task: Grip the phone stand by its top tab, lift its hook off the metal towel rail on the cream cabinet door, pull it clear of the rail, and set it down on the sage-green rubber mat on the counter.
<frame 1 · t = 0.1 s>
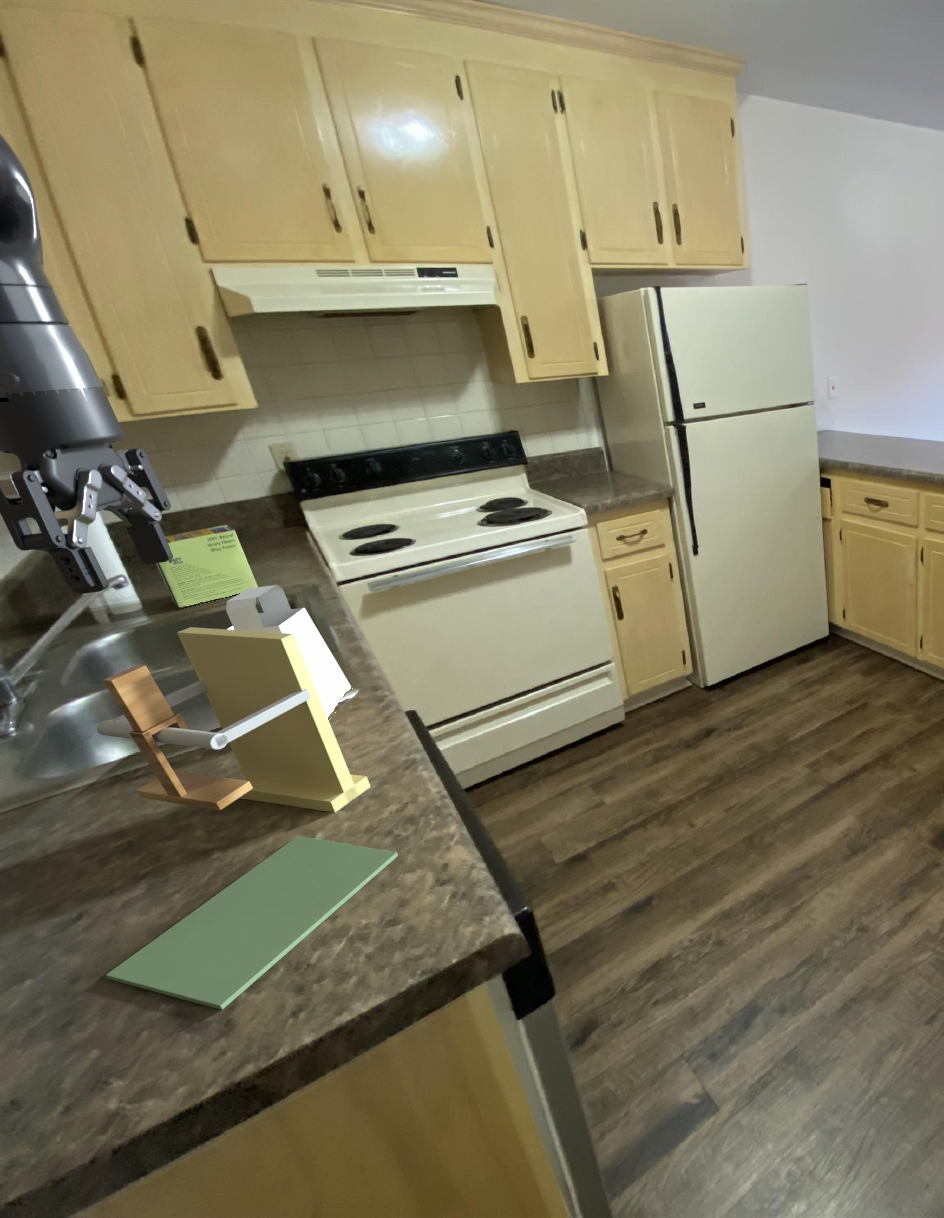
hand: (128, 575, 60), 33 cm above the countertop, tool pointing down, fingers open, 8 cm apart
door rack: (219, 848, 74), on the countertop
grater: (303, 714, 103), on the countertop
protein box: (217, 596, 162), on the countertop
mat: (266, 911, 65), on the countertop
phone stand: (161, 734, 68), point 15 cm above the countertop, touching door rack
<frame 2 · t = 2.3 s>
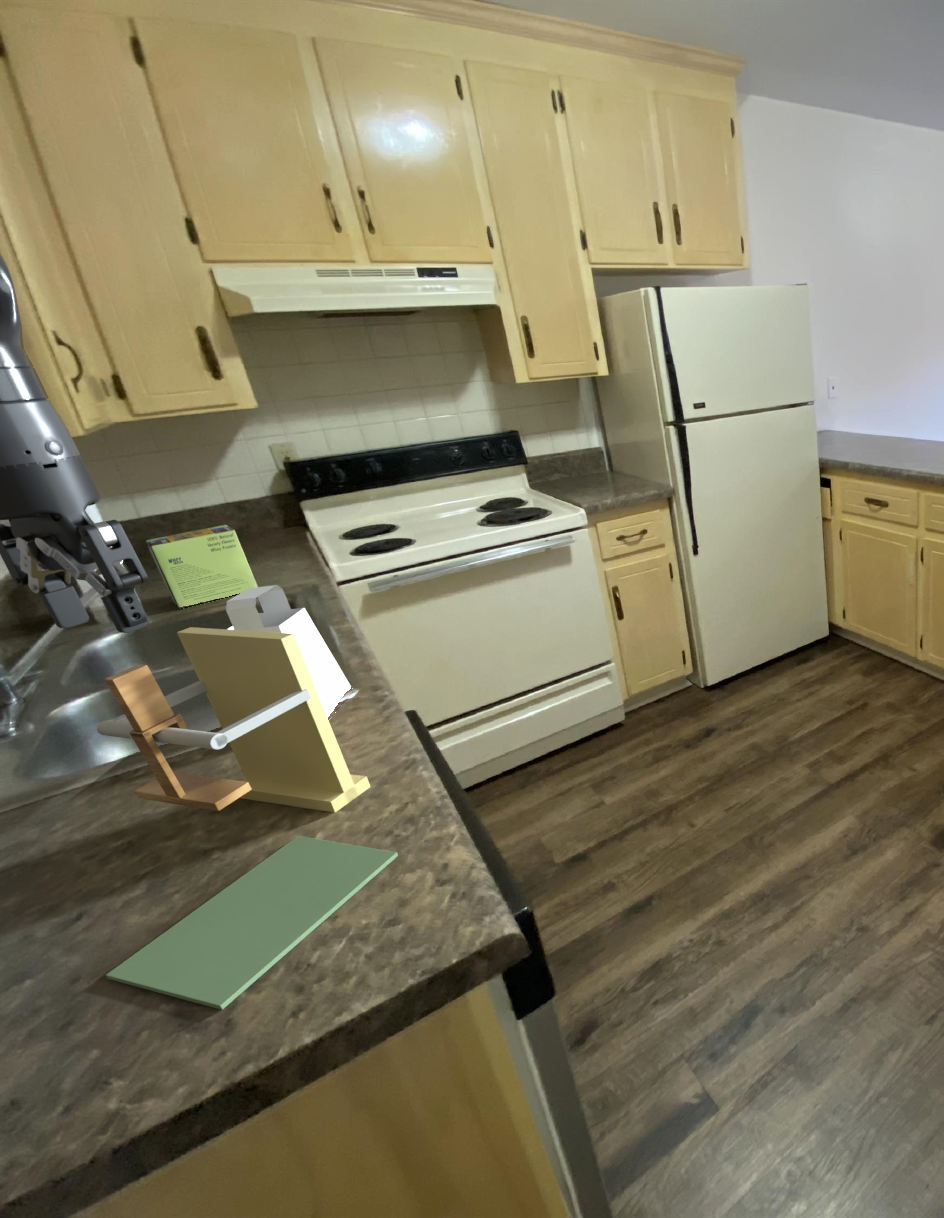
hand: (105, 627, 64), 27 cm above the countertop, tool pointing down, fingers open, 8 cm apart
nothing on the countertop moved.
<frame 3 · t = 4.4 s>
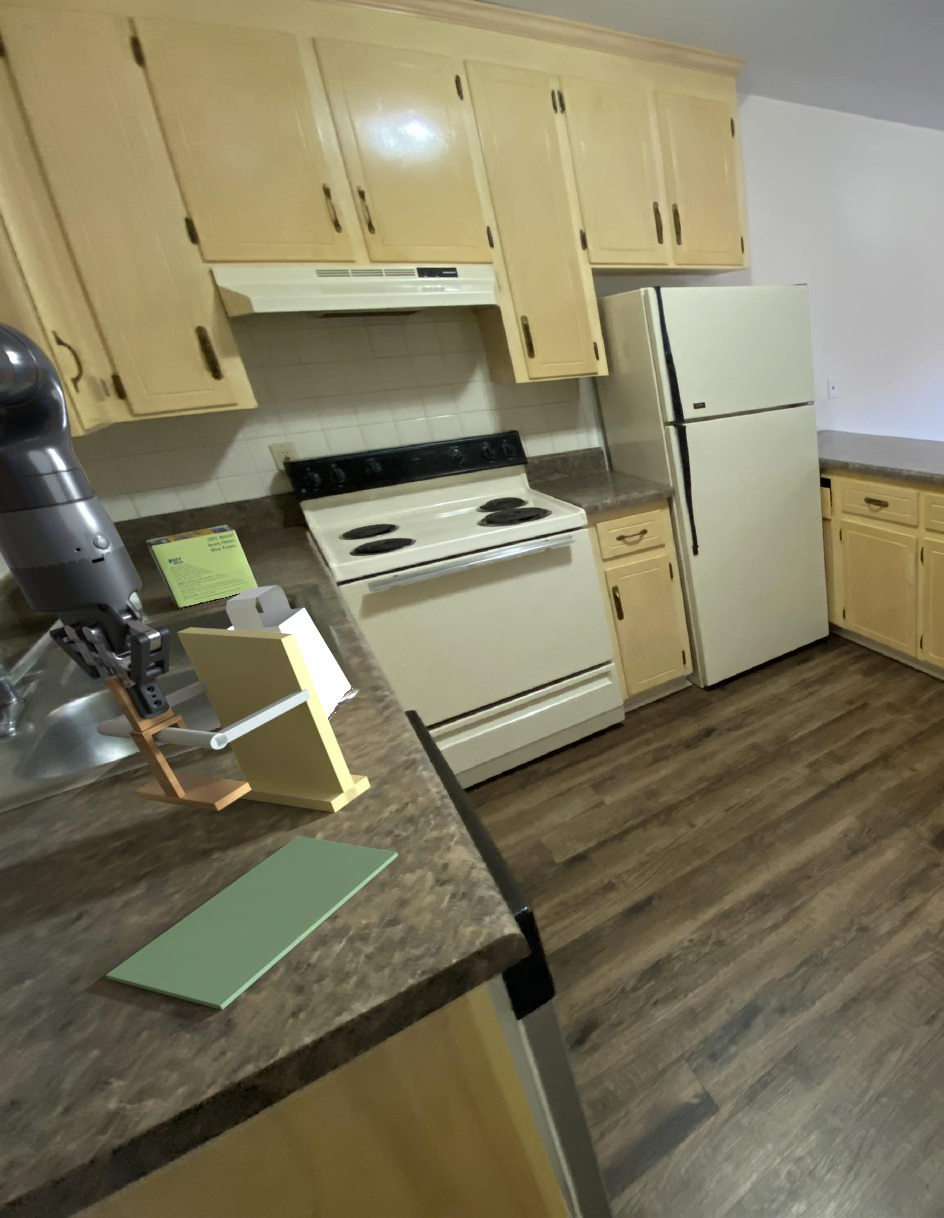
hand: (150, 713, 67), 17 cm above the countertop, tool pointing down, fingers closed on phone stand
phone stand: (161, 734, 68), point 15 cm above the countertop, touching gripper
everything else where it was.
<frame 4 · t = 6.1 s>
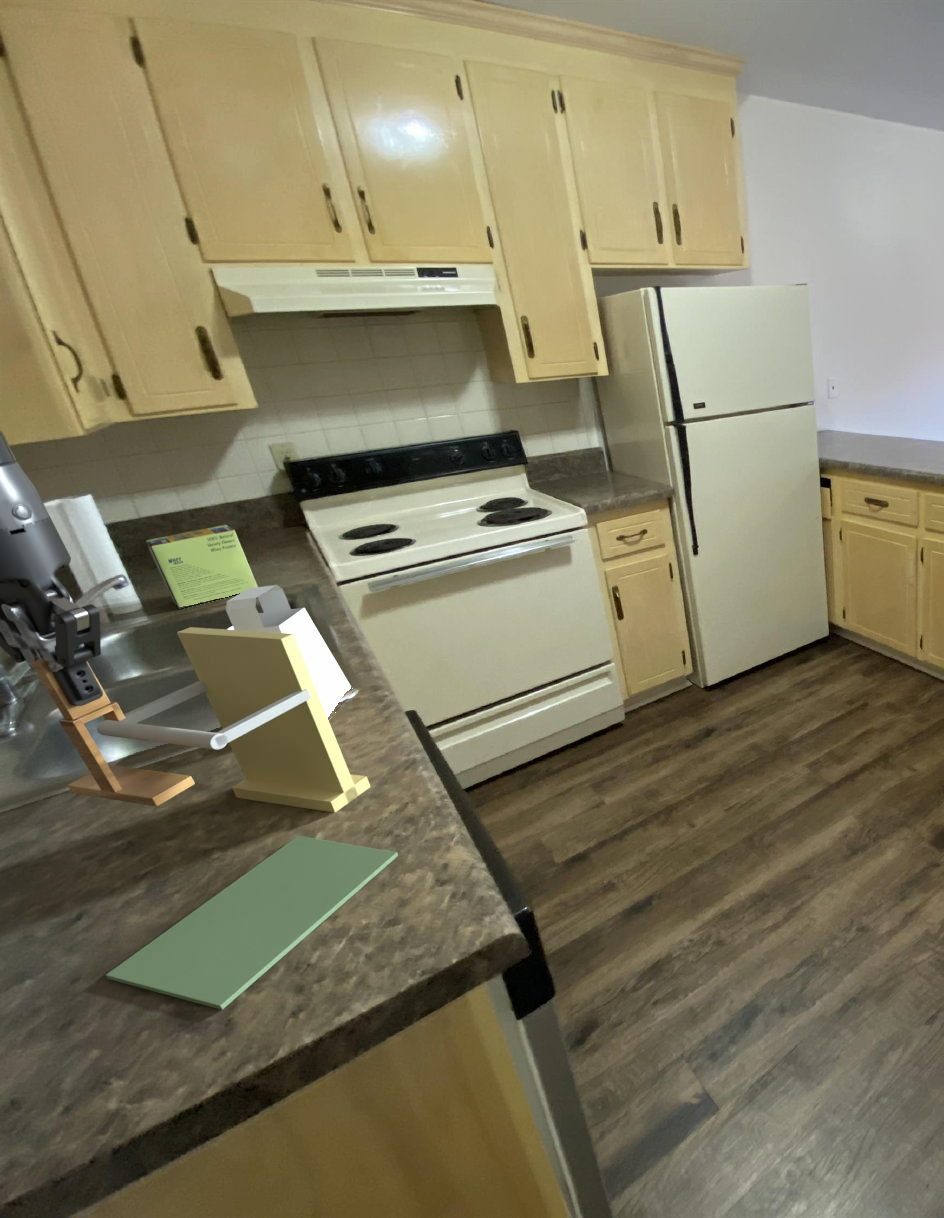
hand: (81, 700, 62), 21 cm above the countertop, tool pointing down, fingers closed on phone stand
phone stand: (95, 723, 64), point 19 cm above the countertop, touching gripper
everything else where it was.
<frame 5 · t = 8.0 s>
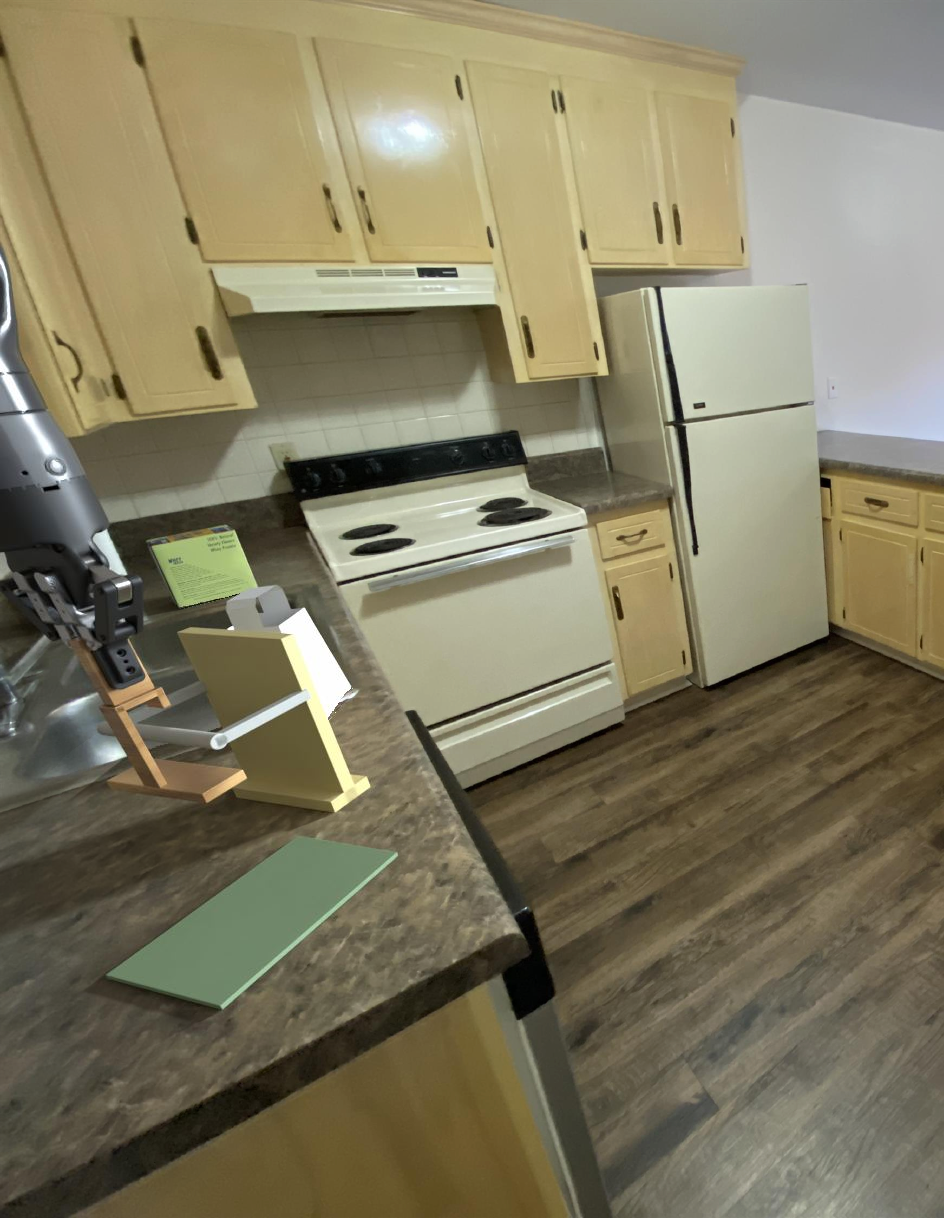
hand: (122, 683, 56), 25 cm above the countertop, tool pointing down, fingers closed on phone stand
phone stand: (138, 711, 57), point 23 cm above the countertop, touching gripper
everything else where it was.
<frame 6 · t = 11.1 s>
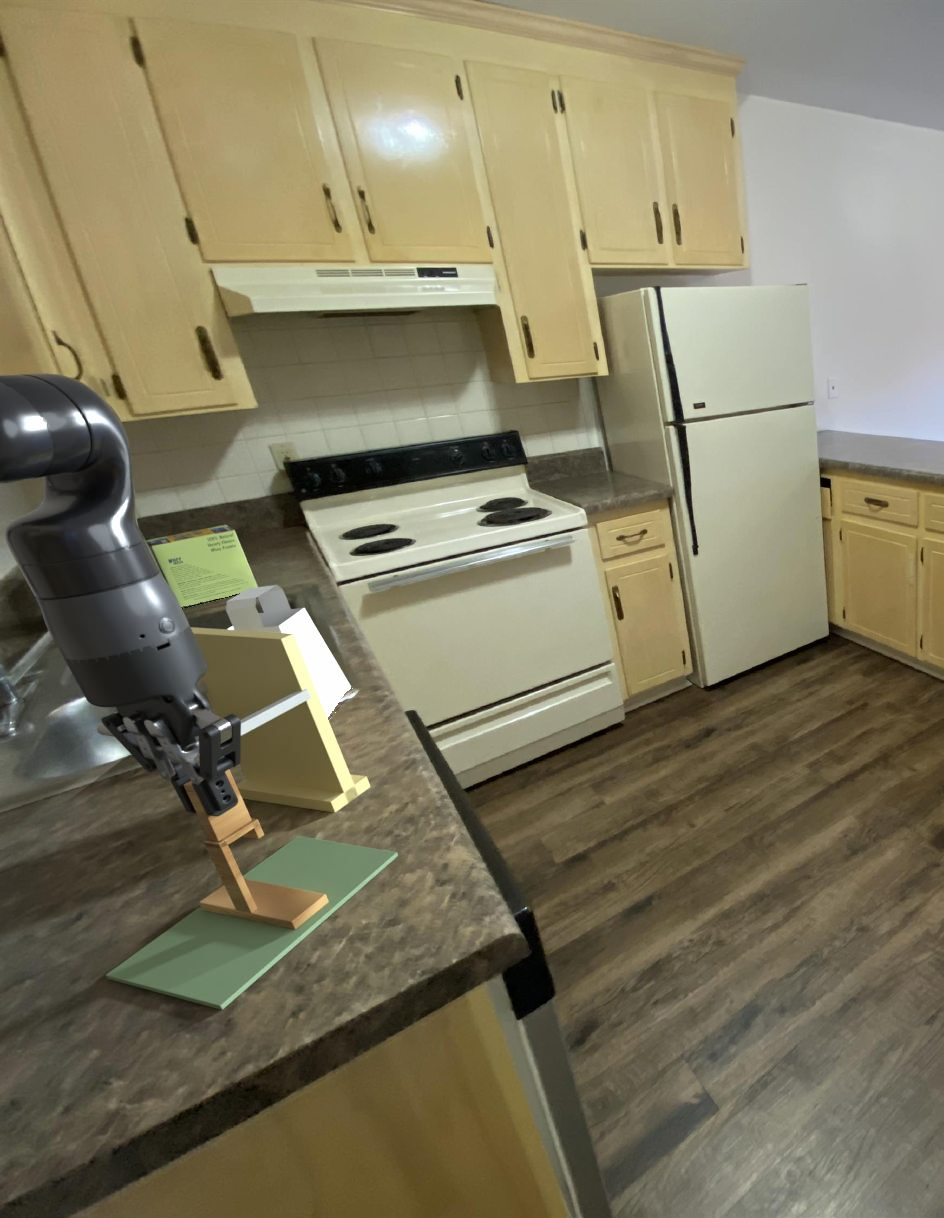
hand: (214, 808, 60), 13 cm above the countertop, tool pointing down, fingers closed
phone stand: (236, 842, 62), point 8 cm above the countertop, touching mat
everything else where it was.
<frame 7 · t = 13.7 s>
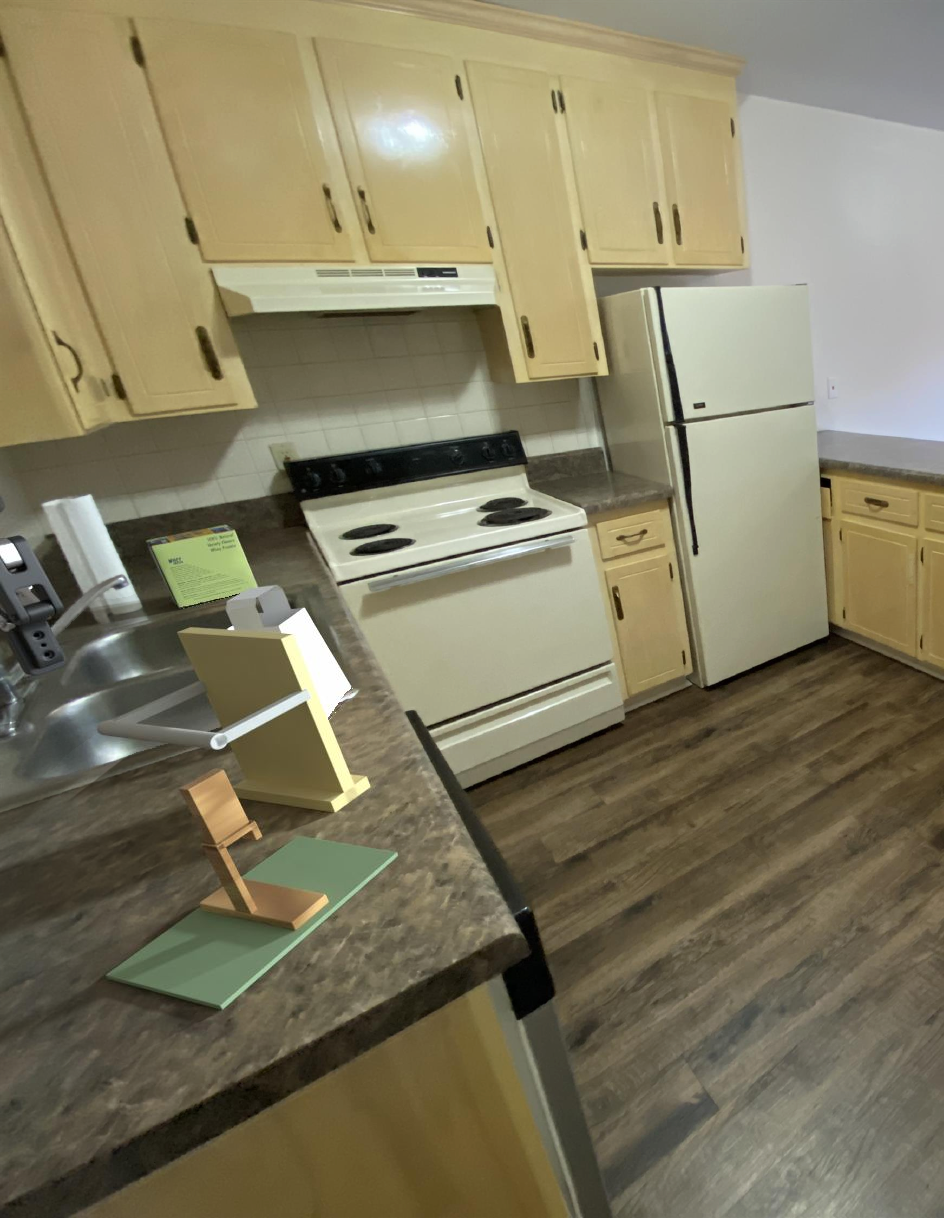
hand: (11, 666, 51), 29 cm above the countertop, tool pointing down, fingers open, 8 cm apart
nothing on the countertop moved.
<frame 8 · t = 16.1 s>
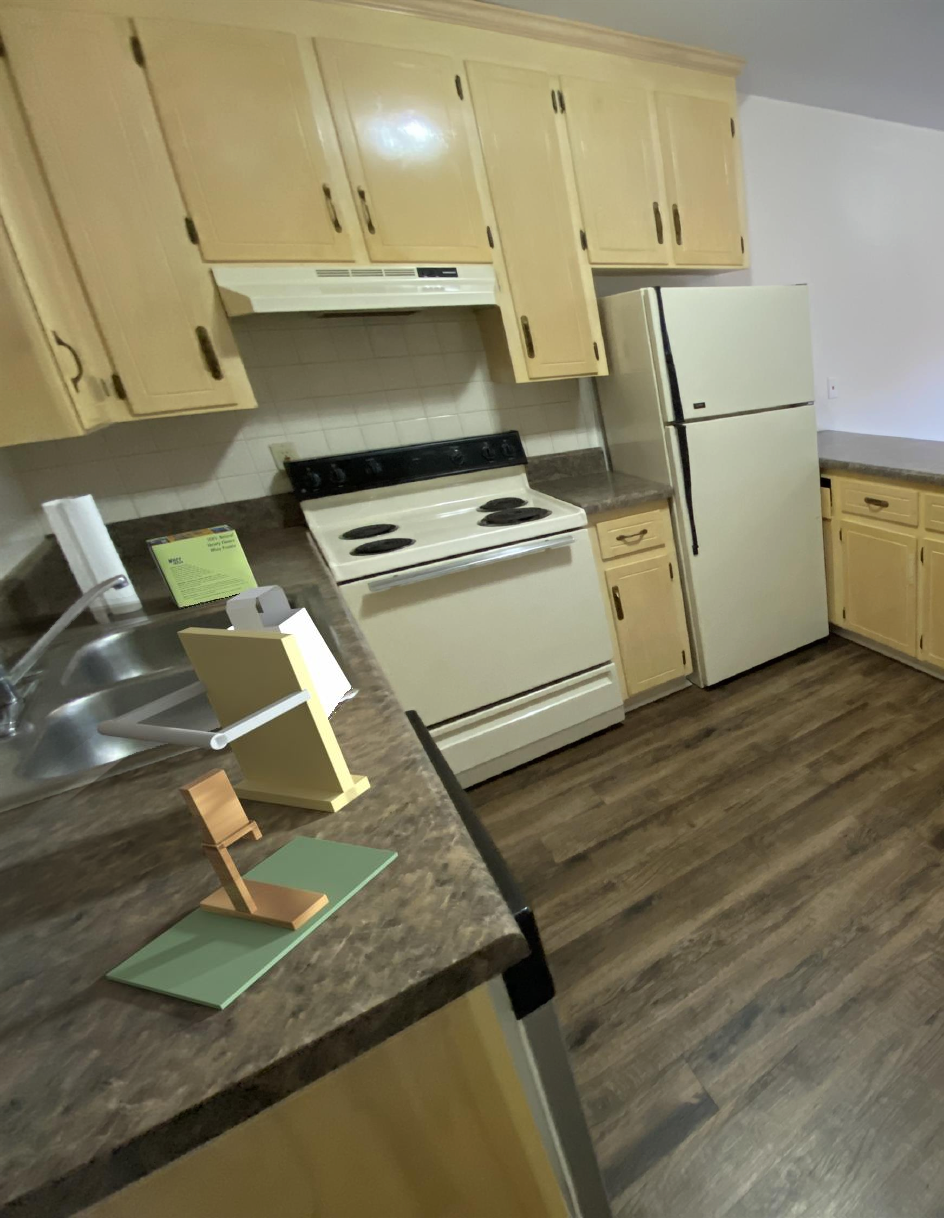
nothing on the countertop moved.
at the end: phone stand inside the target area on the mat (0.2 cm from its centre), point 8.2 cm above the mat's base; phone stand touching mat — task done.
